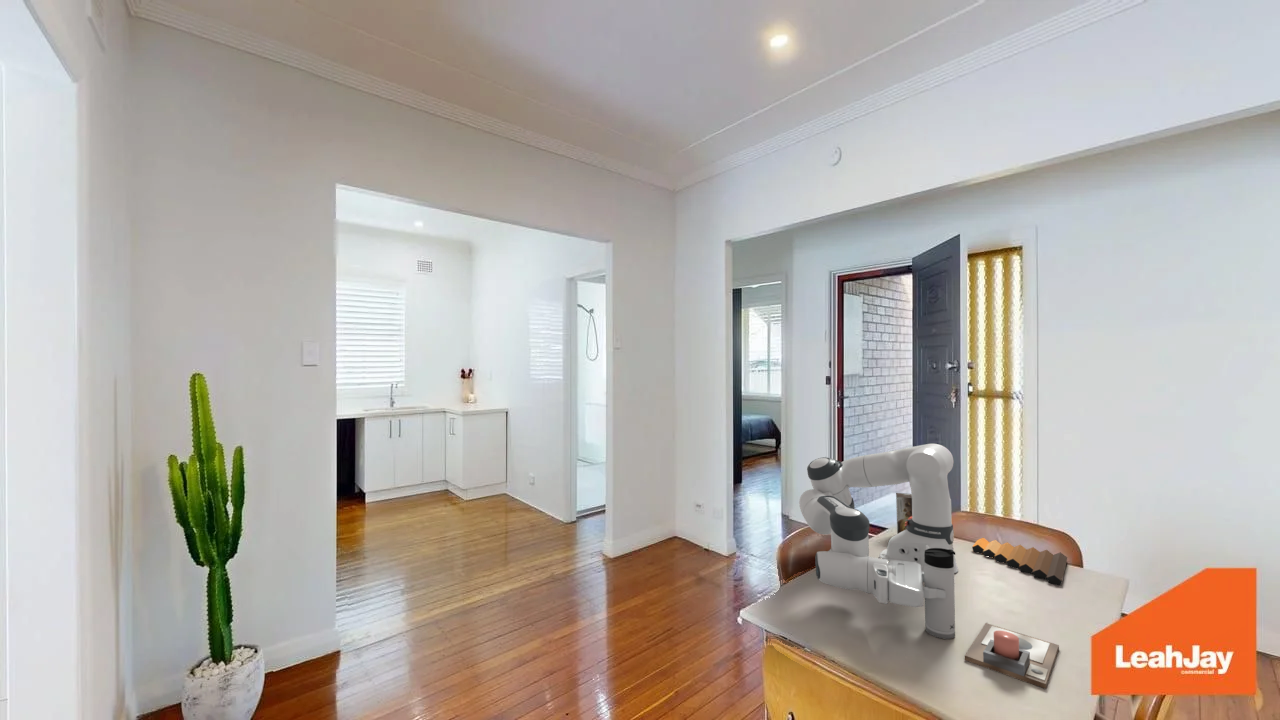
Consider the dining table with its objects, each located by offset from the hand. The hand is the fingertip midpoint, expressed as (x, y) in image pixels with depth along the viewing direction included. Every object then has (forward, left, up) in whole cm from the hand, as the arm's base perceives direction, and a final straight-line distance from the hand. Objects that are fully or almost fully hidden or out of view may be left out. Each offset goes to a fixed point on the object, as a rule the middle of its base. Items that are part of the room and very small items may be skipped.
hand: (944, 587), depth 121 cm
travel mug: (-1, 0, -11) cm, 11 cm away
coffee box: (-29, +68, -11) cm, 74 cm away
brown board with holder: (+13, +1, -11) cm, 17 cm away
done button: (+13, -6, -8) cm, 17 cm away
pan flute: (+4, +66, -12) cm, 67 cm away
